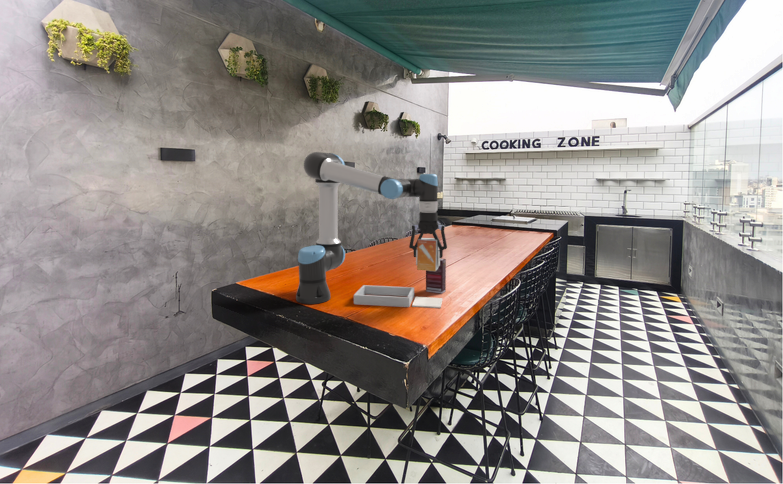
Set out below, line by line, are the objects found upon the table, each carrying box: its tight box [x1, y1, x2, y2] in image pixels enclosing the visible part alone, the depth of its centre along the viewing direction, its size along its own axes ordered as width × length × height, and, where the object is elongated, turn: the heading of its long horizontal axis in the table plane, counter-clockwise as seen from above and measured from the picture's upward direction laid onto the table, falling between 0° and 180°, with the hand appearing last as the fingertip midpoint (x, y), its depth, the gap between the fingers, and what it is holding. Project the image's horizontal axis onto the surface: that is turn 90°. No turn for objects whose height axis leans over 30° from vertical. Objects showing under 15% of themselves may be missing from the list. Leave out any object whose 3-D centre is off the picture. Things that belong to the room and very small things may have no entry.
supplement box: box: [425, 257, 447, 294], centre depth 181 cm, size 9×5×16 cm, turn 62°
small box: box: [416, 237, 440, 271], centre depth 162 cm, size 8×6×13 cm
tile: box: [411, 296, 443, 309], centre depth 165 cm, size 12×12×1 cm
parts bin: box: [353, 284, 415, 308], centre depth 170 cm, size 24×16×4 cm, turn 79°
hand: (428, 264), depth 163 cm, fingers closed on small box, 8 cm apart
